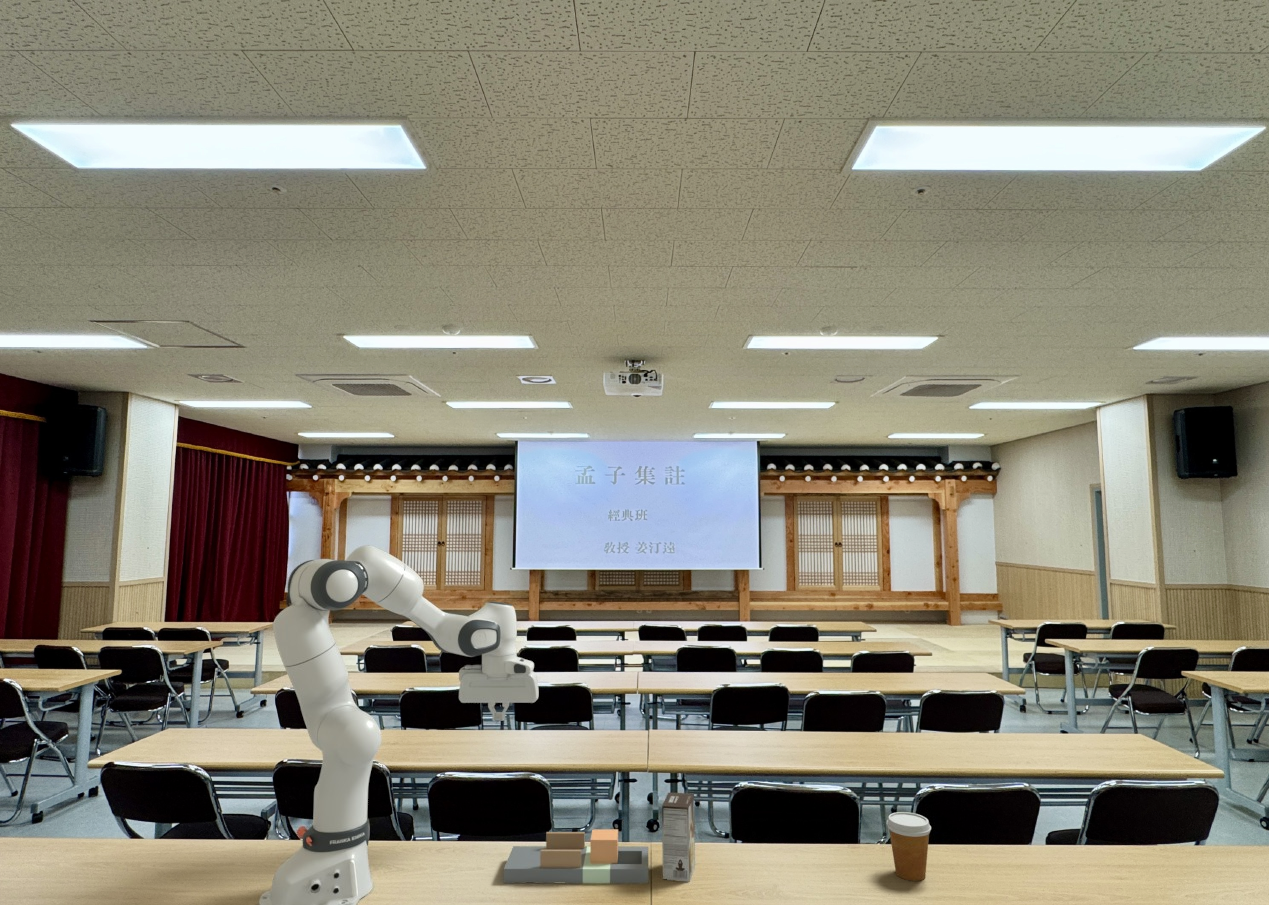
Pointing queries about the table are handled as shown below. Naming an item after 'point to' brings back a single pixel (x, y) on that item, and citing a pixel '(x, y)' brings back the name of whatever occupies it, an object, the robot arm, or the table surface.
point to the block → (604, 846)
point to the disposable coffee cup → (909, 844)
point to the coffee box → (678, 836)
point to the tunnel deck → (574, 862)
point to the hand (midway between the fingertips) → (498, 720)
